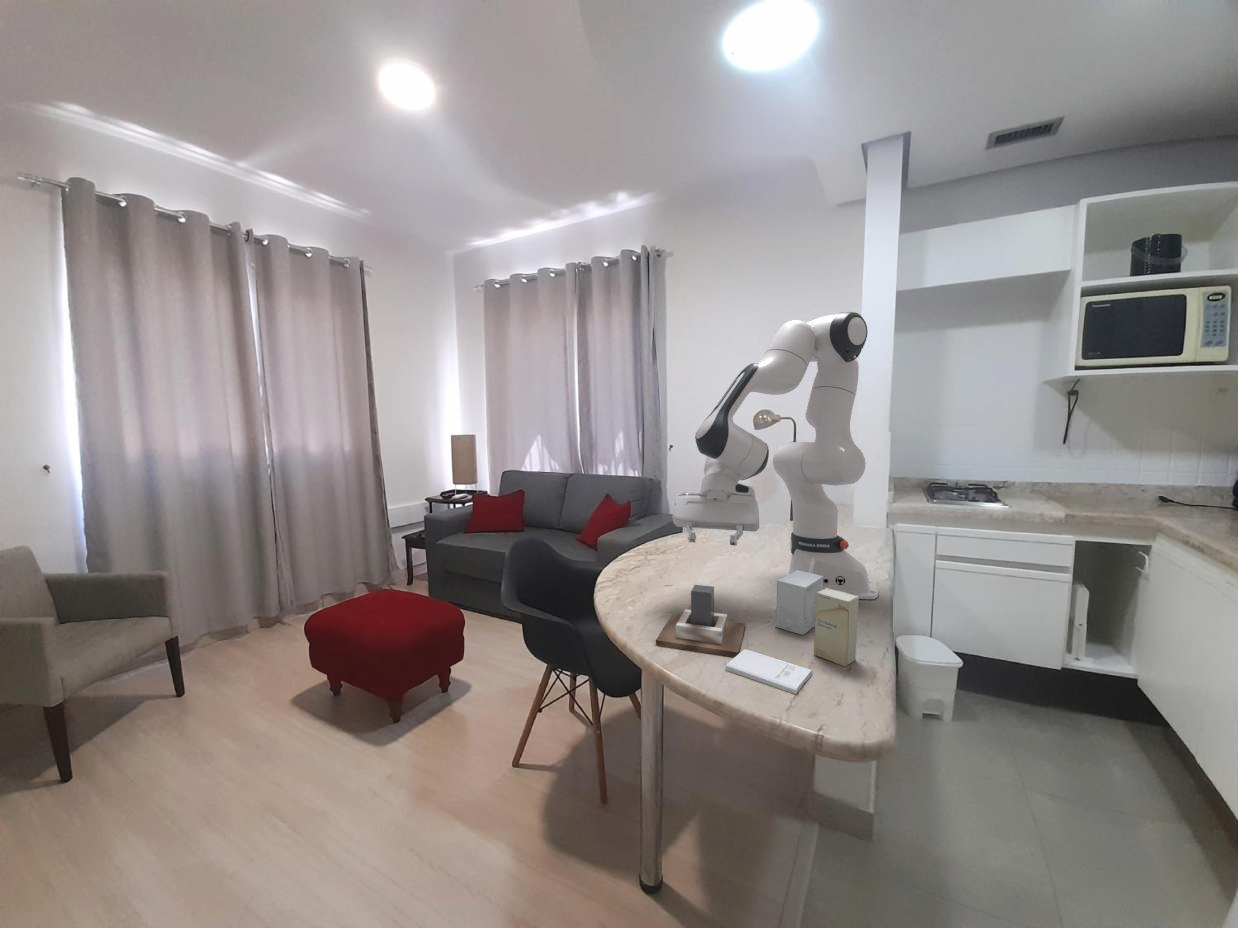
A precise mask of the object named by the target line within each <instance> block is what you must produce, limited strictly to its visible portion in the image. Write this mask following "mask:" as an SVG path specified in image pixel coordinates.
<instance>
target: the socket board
mask: <svg viewBox="0 0 1238 928" xmlns="http://www.w3.org/2000/svg"><path fill="white" fill-rule="evenodd" d="M745 631H746V623H743V622H737V621H729V620H728V614H727V613H718V612H714V627H708V626H701V625H693V624H691V609H688V608H687V609H686V608H685V609H684V610H683V613H682V614H674V613H673V614H671V615H670V617H669V619H668V620H667V622H666V623H665V625H664V626H663V628H662V630H661V631H660V633H659V634H658V636H657V638H656V639H655V645H656V646H660V647H666V648H673V649H680V650H685V651H691V652H692V651H693V652H700V653H706V654H712V655H713V654H714V655H719V656H724V657H730V658H731V657H732V658H734V657H736V656H737V655H738V654H739V653H740V652H741V649H742V644H743V639H744V635H745Z"/></svg>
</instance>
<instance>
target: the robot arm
mask: <svg viewBox="0 0 1238 928" xmlns="http://www.w3.org/2000/svg"><path fill="white" fill-rule="evenodd" d="M867 338H868V325H867V323H866V321H865V319H864V318H863V316H862V315H861V314H860V313H858V312H854V311H844V312H839V313H836V314H829V315H824V316H820V317H817V318H815V319H813V320H810V321H807V322H805V321H803V320H798V319H794V320H789V321H787V322H784V323H783V324H782V325H781V326H780V327H779V329H778V331H776V332H775V335H774V336H773V337H772V339H771V341H770V342H769V345H768V347H767V348H766V350H765V352H764V354H763V356H762V358H761V359H760V360H759V361H758V362H755V363H754V362H752V363H749V364H748V365H747V366H746V367H744V368H743V369H742V370H741V371H740V372H739V374H738V375H737V376H736V377H735V378H734V380H733V381H732V383H731V384H730V386H729V387H728V388H727V390H726V391H725V393H724V394H723V396H722V397H721V399H720V400H719V401H718V403H717V405H716V406H715V407H714V408H713V410H712V411H711V413H710V414H709V415H708V416H707V417H706V418H705V420H704V421H703V422H702V423H701V424H700V426H699V427H698V428H697V431H696V432H695V437H694V439H695V444H696V447H697V449H698V452H699V453H700V454H702V455H704V456H706V459H705V463H704V467H703V472H704V473H703V474H704V476H703V478H702V481H701V487H700V492H699V493H698V492H695V493H694V492H693V493H688V492H682V494H679V495H677V496H676V497H675V500H674V505H675V506H674V509H673V511H672V515H671V516H672V517H671V518H672V522H673V524H674V525H675V526H676V527H678V528H685V530H686V532H687V534H688V543H696V542H697V541H696V540H697V535H696V532H692V531H693V530H694V529H708V530H721V531H722V530H725V531H736V532H735V533H734V534H731V535H730V536H729V546H734V547H736V546H738V540H739V539H740V538H741V537H742V536H743V535H744V532H754V533H755V532H757V531H758V530H759V529H760V512H759V511H760V510H759V505H758V504H759V503H758V501H757V500H756V493H755V489H754V488H753V487H752V486H749V485H746V484H742V483H740V482H739V481H745V480H747V479H751V478H753V477H756V476H757V475H759V474H761V473H762V472H764V470H765V469H766V467H767V465H768V461H769V457H770V455H769V454H770V450H769V445H768V444H767V442H765V441H764V440H762V439H761V438H759V437H758V436H756V435H754V434H753V433H751V432H749V431H747V430H745V429H744V428H742V427H741V426H739V425H737V424H736V423H735V422H734V418H733V417H734V415H735V414H736V413H737V412H738V410H739V408H740V407H741V405H742V404H743V402H744V401H745V400H746V397H747V396H748V395H749V394H750V393H759V394H763V395H770V396H774V395H776V396H779V395H784V394H789V393H790V392H793V391H794V390H795V389H797V388H798V387H799V385H800V384H801V383H802V381H803V378H804V377H805V374H806V372H807V369H808V367H809V365H810V362H811V363H812V362H813V363H814V362H816V365H817V372H816V375H815V377H814V379H813V383H812V388H811V390H810V394H809V398H808V402H807V407H806V412H805V419H806V421H807V423H808V424H809V425H810V426H811V427H812V428H814V429H815V439H814V441H811V442H810V441H794V442H789V443H786V444H782V445H780V446H779V447H778V448H776V450H775V452H774V455H773V458H772V465H773V468H774V471H775V473H776V474H777V475H778V476H779V477H780V478H781V479H782V481H783V483H784V484H785V486H786V488H787V491H788V493H789V497H790V500H791V505H792V532H791V534H790V542H789V543H790V548H789V549H790V553H791V557H790V564H789V565H790V566H789V569H788V573H787V575H789V574H791V573H793V572H794V571H796V570H799V571H803V572H808V573H812V574H816V575H821V576H823V589H825V588H829V589H833V590H837V591H841V592H845V593H848V594H852V595H856V596H859V600H875V599H877V598H878V596H879V589H878V587H877V586H876V585H875V584H874V583H873V582H871V581H869V575H868V571H867V569H866V568H865V566H864V564H862V563H861V562H860V561H859V560H858V559H856V558H855V557H854V556H853V555H852V554H850V553H849V552H848V551H847V549H849V547H850V544H849V542H848V540H846V538H843V537H842V536H840V535H839V534H838V516H839V515H838V511H839V510H838V507H837V505H836V503H835V502H834V501H833V500H832V499H831V498H830V497H828V495H827V494H826V492H825V490H824V487H823V485H827V486H845V485H847V486H848V485H854V484H855V483H857V482H859V480H861V478H863V475H864V473H865V469H866V458H865V455H864V453H863V451H862V450H861V449H860V448H859V447H858V446H857V445H856V444H855V442H854V440H853V437H852V432H851V419H852V413H853V407H854V403H855V398H856V394H857V389H858V383H859V367H860V366H859V362H858V360H857V358H858V357H859V356H860V355H861V353H862V350H863V348H864V347H865V344H866V342H867Z"/></svg>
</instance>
